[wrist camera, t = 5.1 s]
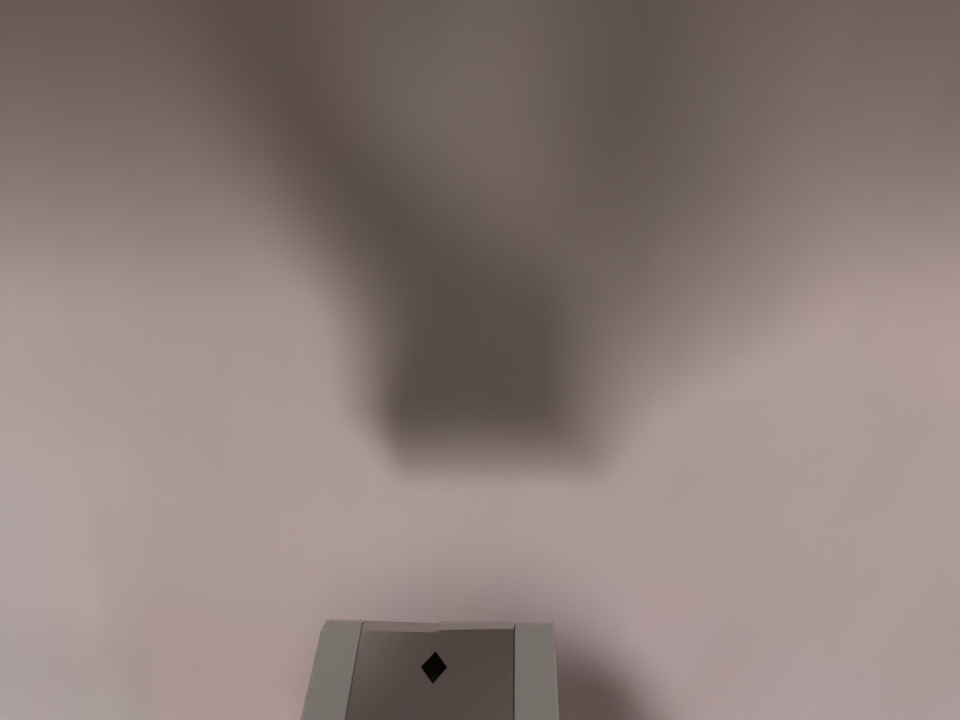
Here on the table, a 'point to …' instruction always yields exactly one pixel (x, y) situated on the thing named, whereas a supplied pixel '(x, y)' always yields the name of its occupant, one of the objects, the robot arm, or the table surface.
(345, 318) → the table surface
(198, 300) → the table surface
